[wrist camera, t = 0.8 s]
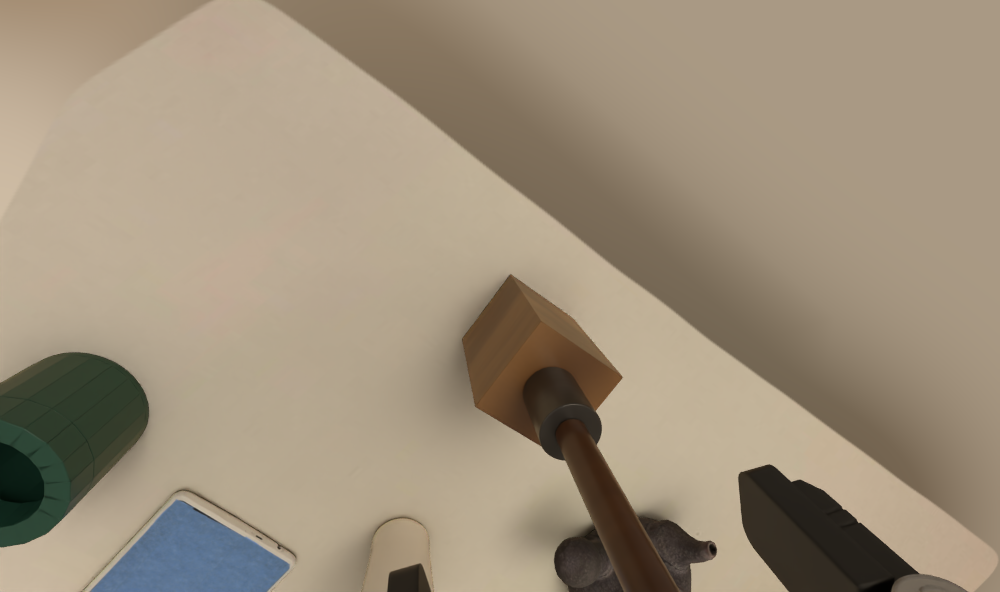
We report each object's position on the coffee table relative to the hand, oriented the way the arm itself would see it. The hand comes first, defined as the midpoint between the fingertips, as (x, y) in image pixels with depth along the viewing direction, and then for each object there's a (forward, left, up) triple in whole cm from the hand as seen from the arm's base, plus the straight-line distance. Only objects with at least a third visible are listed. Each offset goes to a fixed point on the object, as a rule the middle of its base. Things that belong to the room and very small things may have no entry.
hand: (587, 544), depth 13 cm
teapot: (+32, +1, -32) cm, 45 cm away
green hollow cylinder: (-2, -33, -32) cm, 46 cm away
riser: (+7, +1, -32) cm, 33 cm away
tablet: (+17, -37, -32) cm, 52 cm away
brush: (+7, +1, -20) cm, 21 cm away
